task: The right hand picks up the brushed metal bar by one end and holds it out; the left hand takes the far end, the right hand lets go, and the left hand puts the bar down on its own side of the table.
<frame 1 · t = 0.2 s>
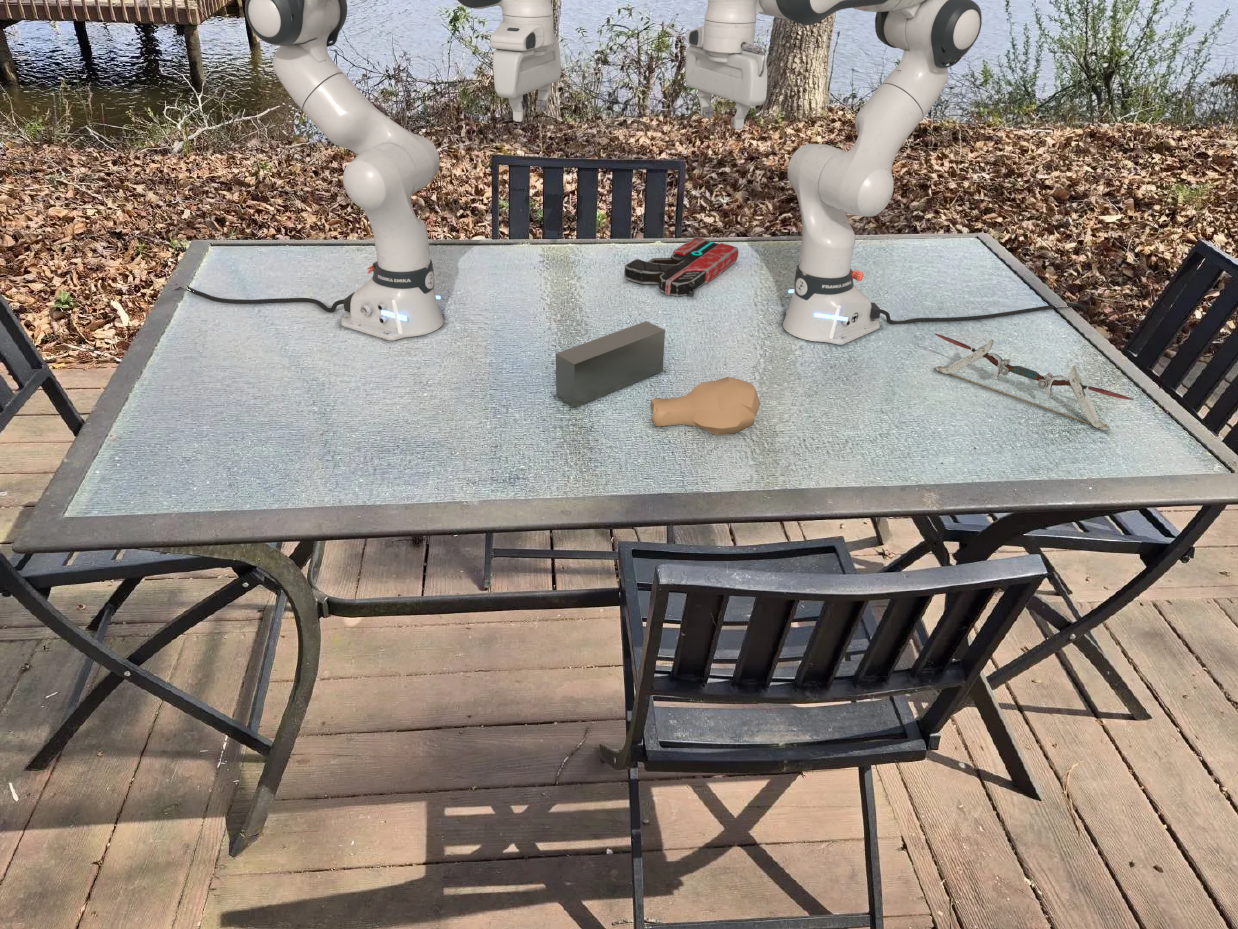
left hand: (530, 115, 162), 47 cm above the table, tool pointing down, fingers open, 8 cm apart
right hand: (721, 122, 159), 47 cm above the table, tool pointing down, fingers open, 8 cm apart
gun: (682, 273, 225), on the table
bar: (611, 384, 175), on the table
bow: (1017, 399, 174), on the table
squash: (704, 426, 162), on the table
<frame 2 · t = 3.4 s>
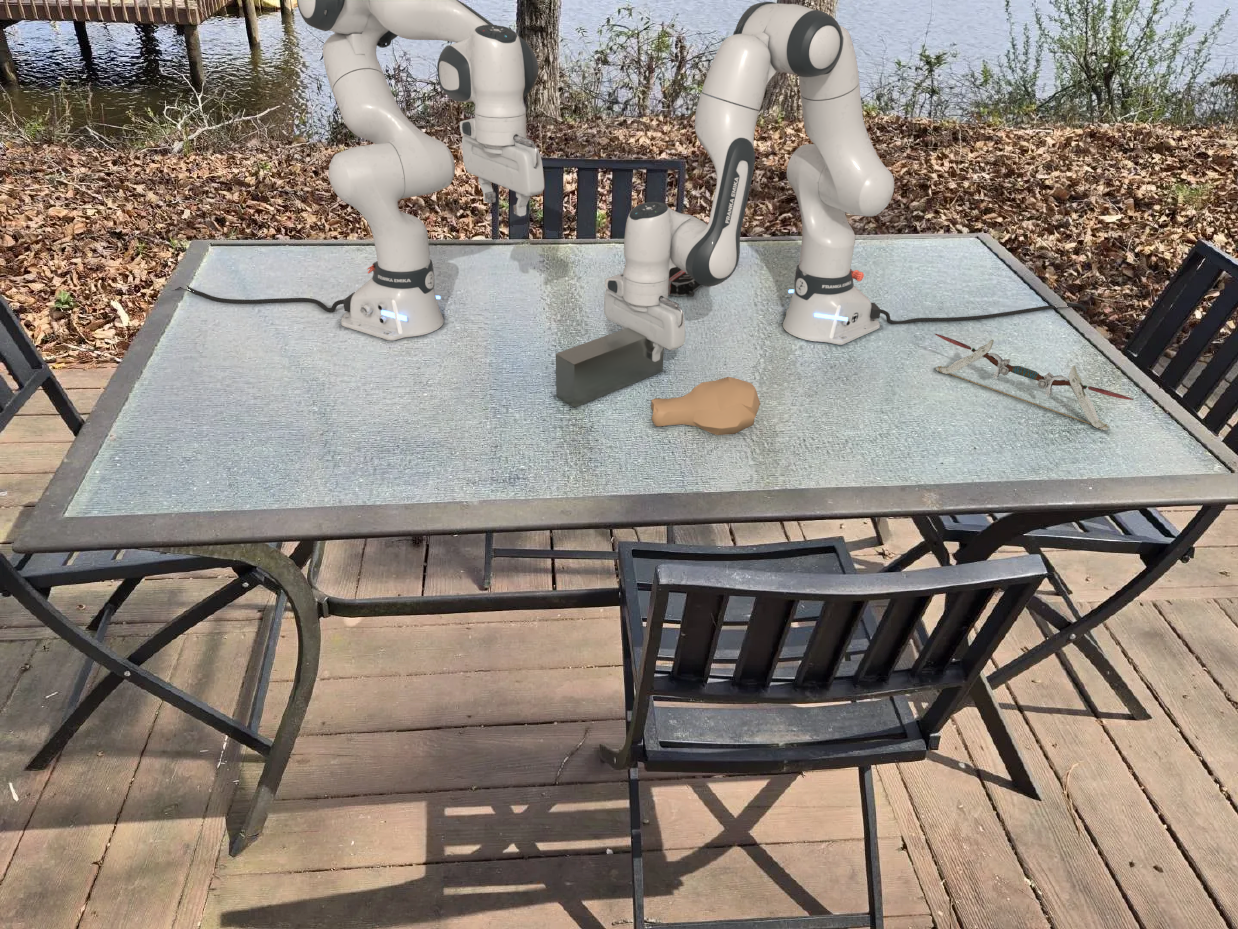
left hand: (504, 208, 161), 33 cm above the table, tool pointing down, fingers open, 8 cm apart
right hand: (642, 353, 177), 4 cm above the table, tool pointing down, fingers closed on bar, 5 cm apart
bar: (611, 384, 175), on the table, touching right hand
everything else where it was.
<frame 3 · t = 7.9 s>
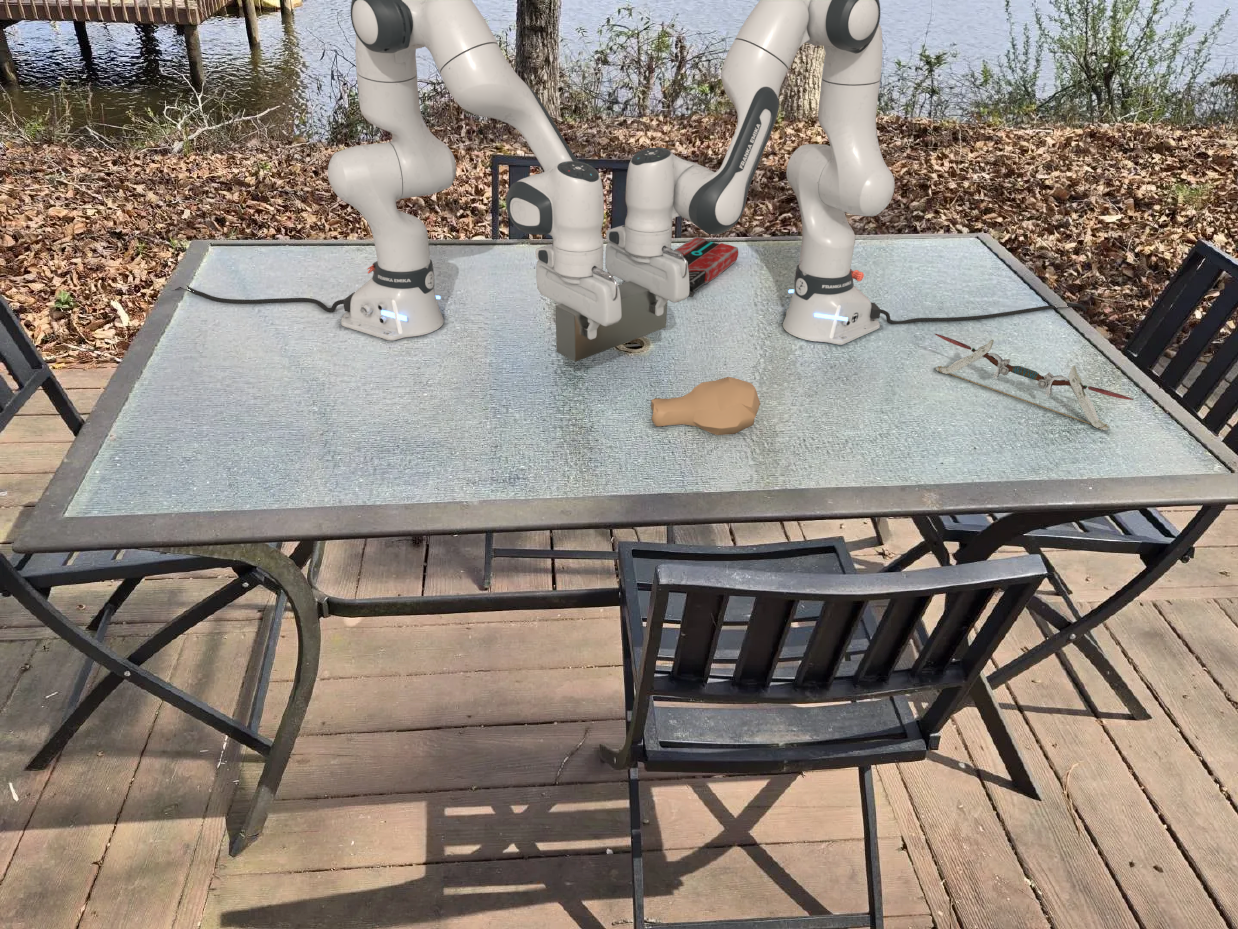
left hand: (578, 331, 162), 14 cm above the table, tool pointing down, fingers closed on bar, 5 cm apart
right hand: (645, 308, 172), 14 cm above the table, tool pointing down, fingers closed on bar, 5 cm apart
bar: (612, 339, 169), point 10 cm above the table, touching left hand, right hand
everything else where it was.
when the right hand's fingers open (14 cm above the table, at t = 9.0 s): bar moves 1 cm, held by the left hand.
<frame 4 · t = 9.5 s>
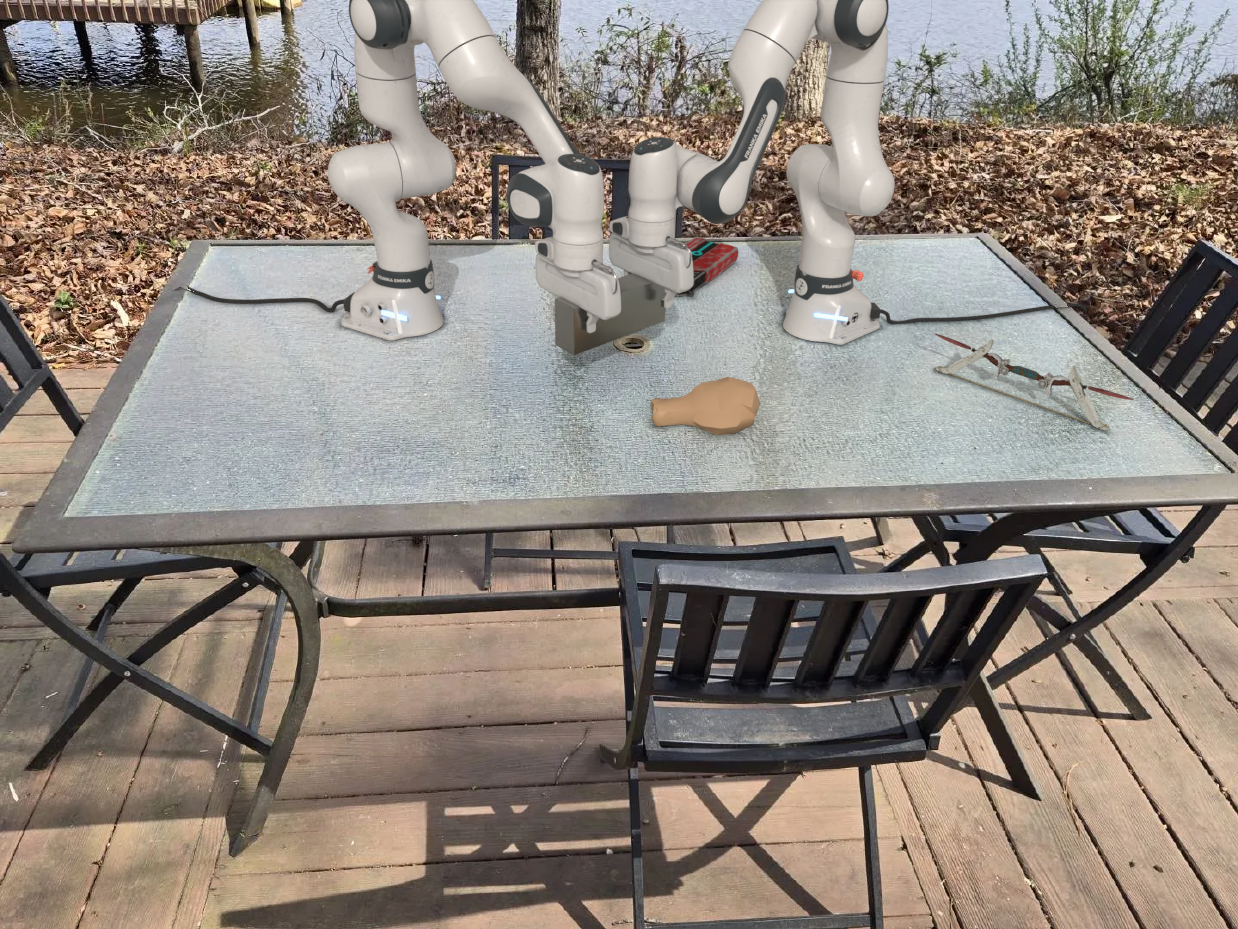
left hand: (577, 324, 162), 15 cm above the table, tool pointing down, fingers closed on bar, 5 cm apart
right hand: (649, 299, 171), 16 cm above the table, tool pointing down, fingers open, 8 cm apart
bar: (611, 332, 169), point 11 cm above the table, touching left hand
everything else where it was.
when the left hand's fingers open (6 cm above the table, at t = 15.0 s): bar stays where it is, on the table.
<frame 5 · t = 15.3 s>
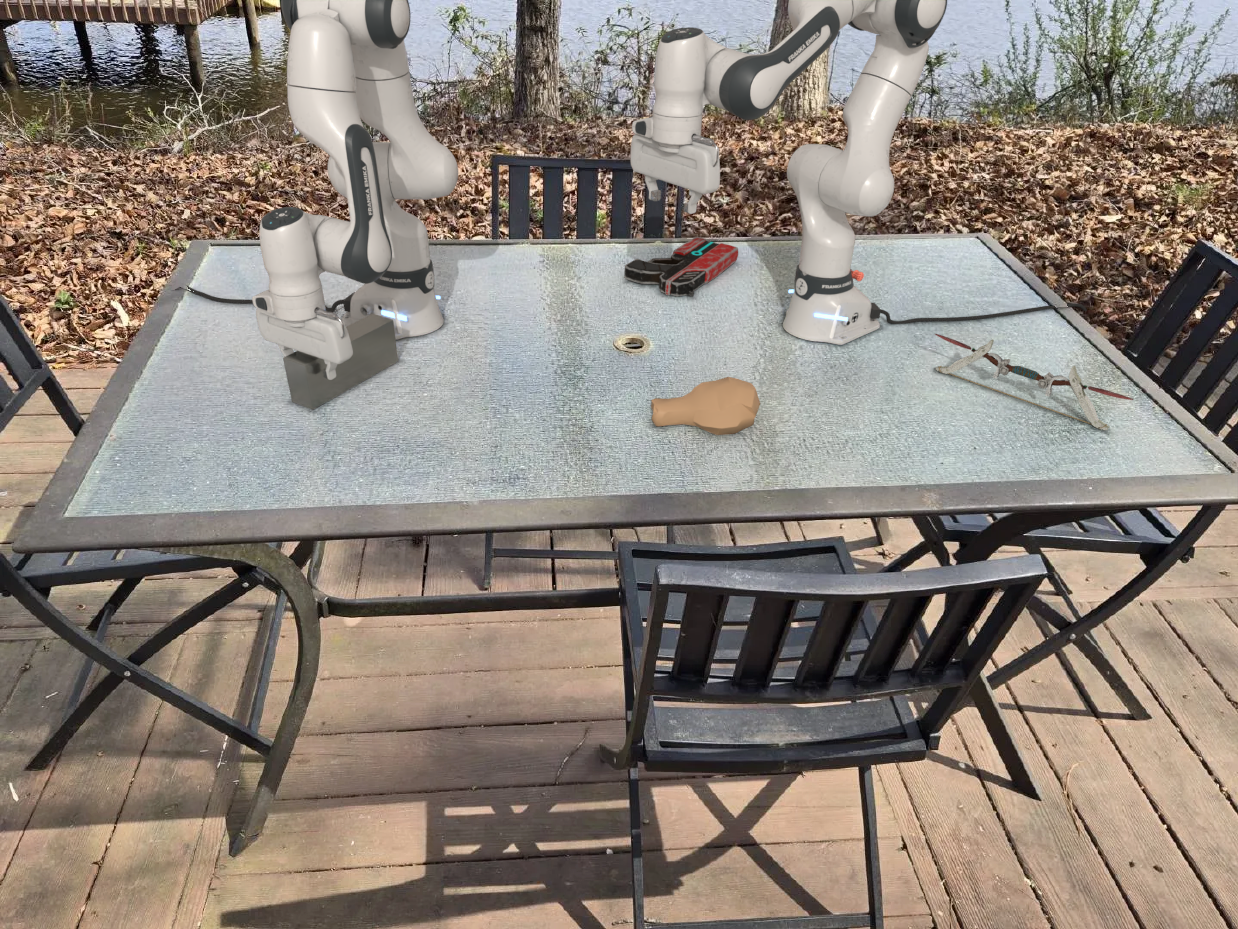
left hand: (311, 371, 164), 6 cm above the table, tool pointing down, fingers open, 8 cm apart
right hand: (672, 206, 164), 33 cm above the table, tool pointing down, fingers open, 8 cm apart
bar: (347, 381, 173), on the table
everything else where it was.
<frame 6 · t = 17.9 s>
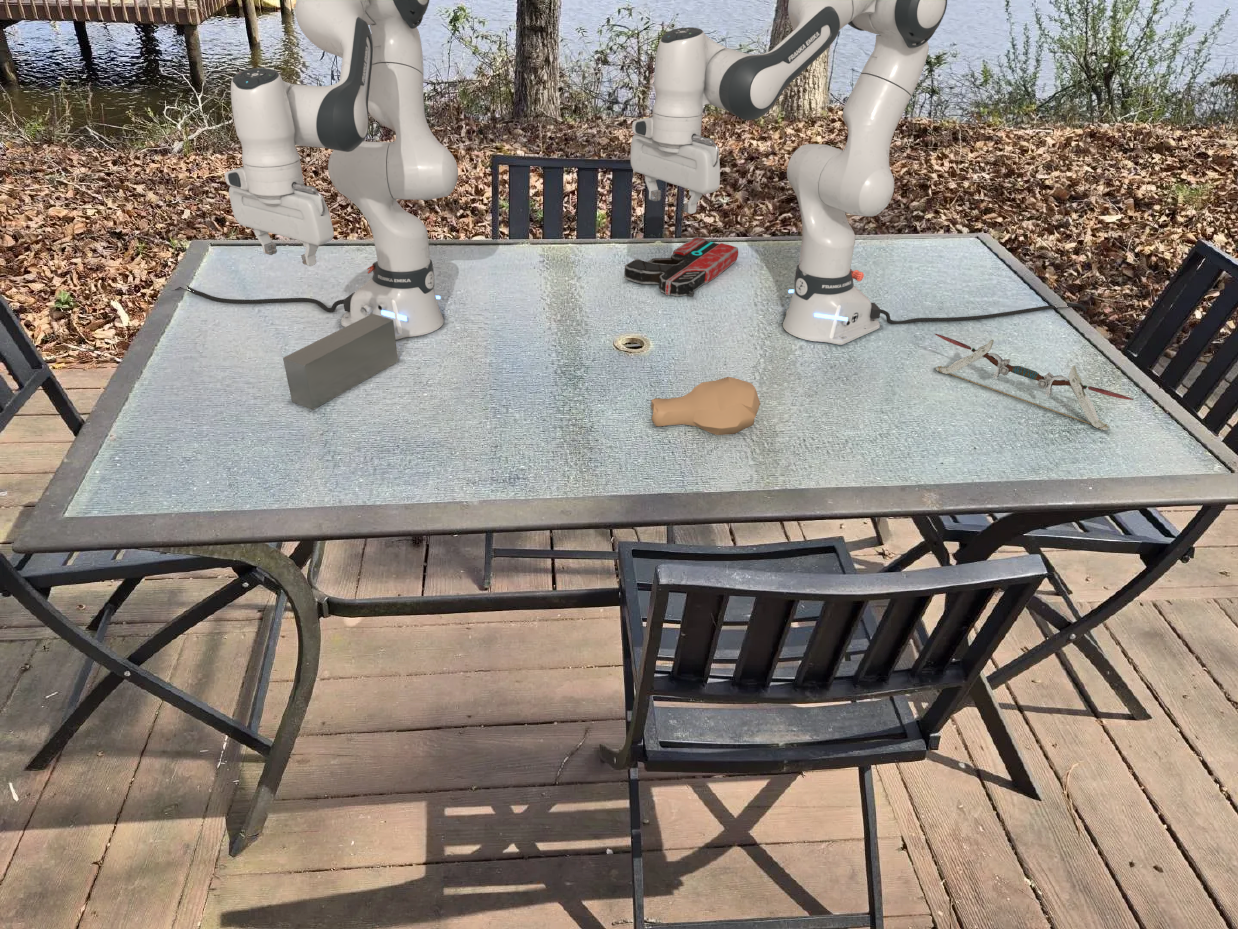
left hand: (290, 258, 152), 28 cm above the table, tool pointing down, fingers open, 8 cm apart
right hand: (672, 206, 164), 33 cm above the table, tool pointing down, fingers open, 8 cm apart
nothing on the table moved.
at the end: bar inside the target area (8.1 cm from its centre), on the table; the left hand is holding nothing; the right hand is holding nothing; bar at rest at the end (0.0 cm/s) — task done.
